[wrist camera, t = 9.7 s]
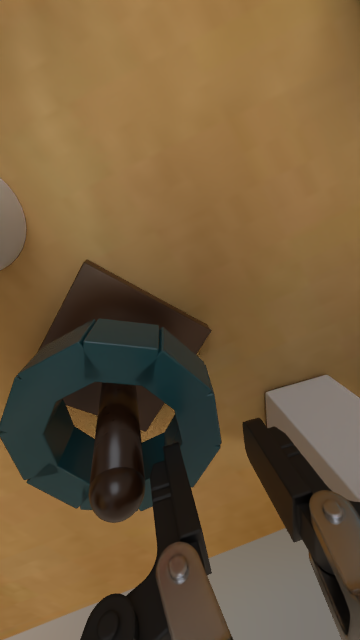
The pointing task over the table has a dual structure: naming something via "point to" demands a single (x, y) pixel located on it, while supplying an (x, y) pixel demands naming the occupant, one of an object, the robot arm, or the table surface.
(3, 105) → the table surface
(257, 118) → the table surface
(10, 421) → the ring
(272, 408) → the milk carton
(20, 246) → the cylindrical container
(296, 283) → the table surface
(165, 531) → the robot arm
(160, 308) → the stand
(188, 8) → the table surface
